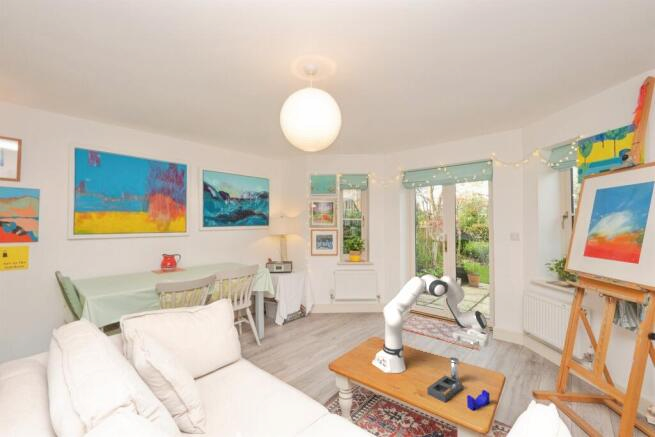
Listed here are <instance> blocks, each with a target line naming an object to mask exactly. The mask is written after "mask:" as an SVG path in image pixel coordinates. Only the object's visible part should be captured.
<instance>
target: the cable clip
mask: <svg viewBox="0 0 655 437" xmlns="http://www.w3.org/2000/svg"><path fill="white" fill-rule="evenodd" d="M490 402H491V400H490V392H489V391H487V390H485V389H483V390H481V394H478V395H477V397H476V398H474V397H473V396H472V395H470V394H468V395H466V403H467V404H466V405H467V408H468V409H469V410H471V411H472V412H473V411H477V410H479V409H481V407H482V408H484V407H487V406H488V405H487V404H491V403H490ZM486 405H487V406H486Z"/></svg>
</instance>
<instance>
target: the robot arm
mask: <svg viewBox="0 0 655 437" xmlns="http://www.w3.org/2000/svg"><path fill="white" fill-rule="evenodd" d="M424 292H427V293H429V294H430V295H431V296H433V297H436V298H437V297H438V298H440V297H443V296H444V295H445V297H446V298H445V301H446V302H445V303H446V305H447V307H448V308H449V311H450V313H451V314H452V316H453V318H454V320H455V323H456V325H457V326H459V328H460V329H467V328H469V329H468V330H466V331H463V330H456V331H453V332H452V338H453V339H455V341H456V342H459V341H463V342H465V343H469V344H470V346H473V347H474V346H480V347H482V348H486V347H488V346H489V340H490V338H489V335H490V332H491V330H490V327H489V325H488V324H487V319H486V317H485V316H484V314H483V313H482V312H480V311H478V310H472V311H466V312H464V311H460V309H459V307H458V304H461V303H462V301H463V300H464V299H465V291H464V289H463V288H462V286H461V285H460V284H459V283H458V282H457V281H456V280H455V279H454V278H453V277H452V276H451V275H448V274H447V275H443V276H442V277H441V278H438V276H436V275H434V274H432V273H428V272H426V273H423V274H422V275H420V276H413V277H412V278H410V280H408V282H406V283H405V284H404V286H403V287H402V288H401V290H400V291H399V293H398V294H397V295H396V296H395V297H394V298H393V299H392V300H391V301H389V303H387V304H385V306H383V311H382V314H383V319H384V322H385V324H384V325H385V327H384V344H382V345H381V348H382V349H381V350H379V351H378V352H377V353H376V354H375V358H374V359H372V362H371V365H373V366H375V367H376V368H377V369H378V370H381V371H382V372H383V373H386V374H390V373H391V374H392V373H393V374H400V373H403V372H405V371H406V369H407V367H406V363H405V359H404V345H403V331H404V330H403V329H404V316H403V314H404V313H405V312H406V311H407V310H409V309H411V308H412V307H413V305H414V304H415V303H416V302H417V300H418V299H419V298H420V296H421V295H422V294H423V293H424Z"/></svg>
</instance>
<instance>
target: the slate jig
mask: <svg viewBox="0 0 655 437" xmlns="http://www.w3.org/2000/svg"><path fill="white" fill-rule="evenodd" d="M462 389H463V382H462V381H460V380H459V381H458V380H455V379H453V378H451V376H448V375H443V376H442V377H441V378H438V380H436V381H434V382H433V383H432V384H430V385H429V386H428V387H427V391H426V392H427V395H428V396H430V397H432V398H434V399H437V400H438V401H441V402H442V403H446V402H448V401H449V400H450V399H451V398H453V397H454V396H455V395H456V394H457V393H459V392H460V391H461V390H462Z"/></svg>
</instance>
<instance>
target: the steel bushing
mask: <svg viewBox="0 0 655 437" xmlns="http://www.w3.org/2000/svg"><path fill="white" fill-rule="evenodd" d="M448 361H449V364H450V366H449V367H450V378H453V379H455V380H458V381H460V378H459V363H460V361H459V358H457V357H449V360H448Z"/></svg>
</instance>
